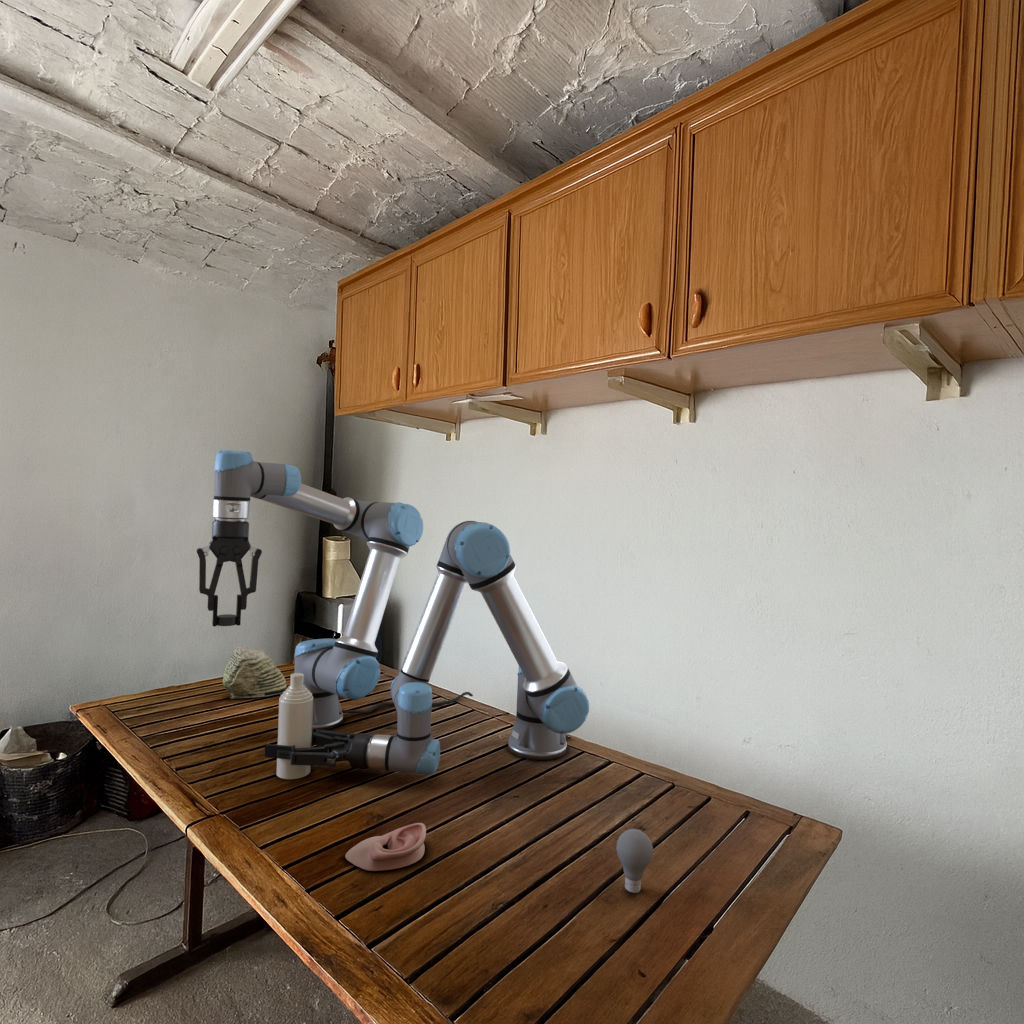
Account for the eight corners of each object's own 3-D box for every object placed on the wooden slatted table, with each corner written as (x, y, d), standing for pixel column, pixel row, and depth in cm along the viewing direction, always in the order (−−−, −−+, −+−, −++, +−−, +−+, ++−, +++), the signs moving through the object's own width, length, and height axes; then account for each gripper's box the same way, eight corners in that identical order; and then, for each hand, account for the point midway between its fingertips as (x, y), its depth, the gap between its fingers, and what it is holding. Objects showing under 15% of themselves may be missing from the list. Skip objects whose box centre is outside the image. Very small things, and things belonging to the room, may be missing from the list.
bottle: (274, 780, 140) (278, 679, 140) (278, 766, 148) (281, 670, 147) (309, 778, 142) (313, 678, 142) (311, 764, 149) (315, 669, 149)
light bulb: (610, 879, 108) (613, 822, 108) (644, 879, 109) (647, 822, 109) (619, 902, 102) (622, 840, 102) (655, 901, 103) (658, 840, 103)
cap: (240, 623, 142) (241, 615, 142) (228, 626, 138) (228, 618, 138) (224, 622, 143) (225, 613, 143) (212, 625, 139) (212, 616, 139)
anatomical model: (337, 842, 109) (366, 811, 120) (336, 865, 109) (365, 832, 120) (410, 854, 106) (432, 821, 117) (409, 878, 106) (432, 842, 118)
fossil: (218, 695, 195) (220, 647, 195) (278, 685, 208) (279, 640, 207) (228, 703, 189) (230, 653, 188) (289, 692, 201) (290, 645, 201)
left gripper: (188, 519, 133) (183, 629, 134) (274, 522, 141) (269, 626, 142) (187, 517, 140) (182, 623, 140) (269, 520, 148) (265, 620, 148)
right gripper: (354, 788, 133) (250, 779, 135) (383, 750, 153) (293, 743, 155) (356, 753, 133) (252, 744, 135) (384, 719, 153) (294, 712, 155)
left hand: (226, 624), depth 141 cm, fingers closed on cap, 4 cm apart
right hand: (274, 743), depth 145 cm, fingers closed on bottle, 7 cm apart
